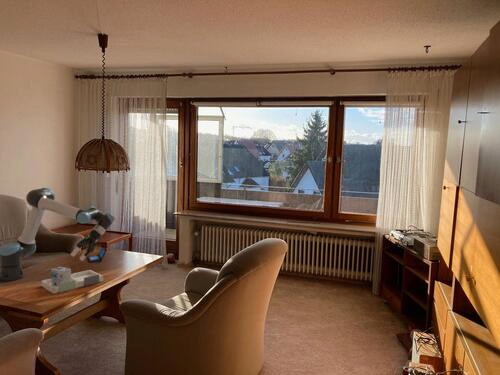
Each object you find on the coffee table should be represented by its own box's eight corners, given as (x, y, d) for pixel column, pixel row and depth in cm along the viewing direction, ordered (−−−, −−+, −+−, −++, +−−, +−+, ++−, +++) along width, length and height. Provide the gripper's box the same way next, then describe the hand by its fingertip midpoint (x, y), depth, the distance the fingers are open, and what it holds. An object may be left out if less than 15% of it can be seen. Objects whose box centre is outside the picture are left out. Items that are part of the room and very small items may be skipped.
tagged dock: (53, 294, 243) (53, 285, 242) (41, 285, 256) (41, 277, 255) (104, 281, 267) (103, 273, 266) (90, 274, 280) (90, 267, 280)
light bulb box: (51, 285, 255) (50, 269, 254) (59, 281, 261) (59, 266, 260) (63, 287, 251) (63, 271, 250) (71, 284, 257) (71, 268, 256)
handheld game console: (87, 258, 322) (86, 247, 321) (104, 256, 328) (104, 245, 327) (89, 263, 308) (89, 251, 307) (107, 261, 314) (107, 249, 313)
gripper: (109, 238, 265) (88, 264, 256) (92, 232, 282) (72, 256, 273) (102, 232, 261) (80, 258, 251) (85, 226, 278) (64, 250, 268)
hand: (76, 257), depth 262 cm, fingers open, 13 cm apart
